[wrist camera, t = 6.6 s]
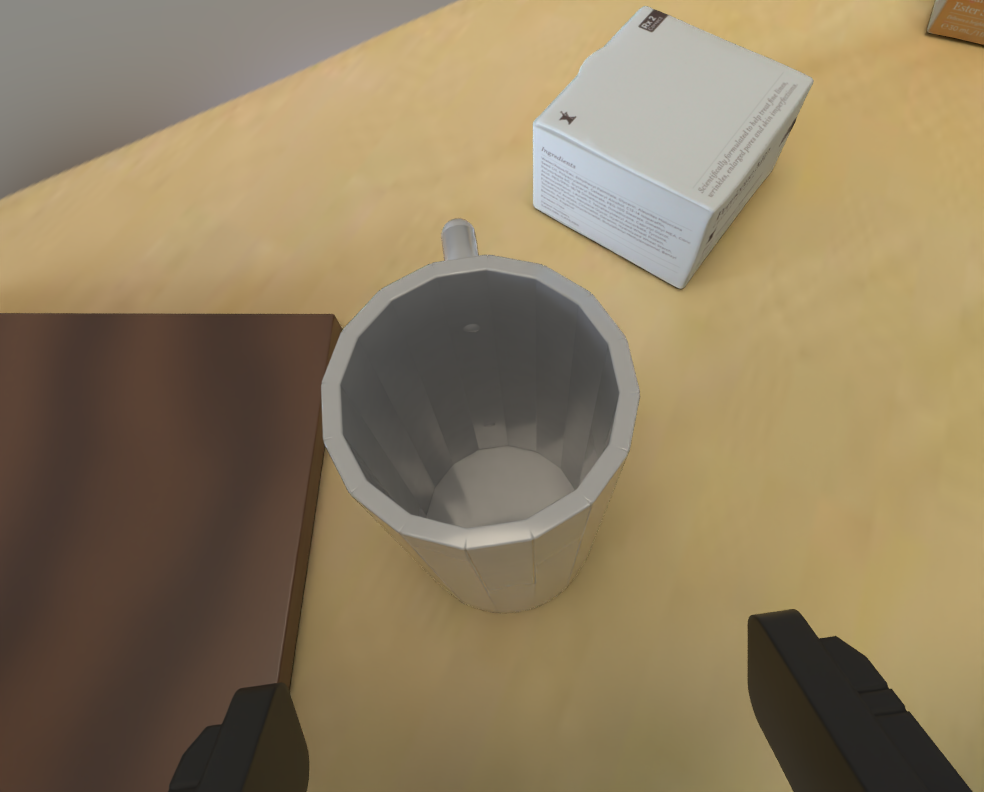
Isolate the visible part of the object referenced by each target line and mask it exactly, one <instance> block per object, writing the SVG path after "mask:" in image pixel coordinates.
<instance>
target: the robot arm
mask: <svg viewBox="0 0 984 792" xmlns="http://www.w3.org/2000/svg"><path fill="white" fill-rule="evenodd" d="M748 690H749V696H750V700H751V704H752V707H753V711H754V713H755V716H756V719H757V721H758V723H759V725H760V727H761V729H762V731H763V733H764V735H765V737H766V739H767V741H768V743H769V745H770V747H771V748H772V750H773V752H774V754H775V756H776V758H777V760H778V762H779V764H780V766H781V768H782V770H783V772H784V774H785V776H786V778H787V780H788V782H789V783H790V785H791V787H792V789H793V791H794V792H972V790H971V789H970V788H969V787H968V785H967V784H966V783H965V781H964V780H963V779H962V778H961V776H960V775H959V774H958V773H957V771H956V770H955V769H954V767H953V766H952V765H951V764H950V762H949V761H948V760H947V759H946V757H945V756H944V755H943V754H942V752H941V751H940V750H939V748H938V747H937V746H936V745H935V743H934V742H933V741H932V740H931V738H930V737H929V736H928V735H927V733H926V732H925V731H924V729H923V728H922V727H921V726H920V724H919V723H918V722H917V721H916V719H915V718H914V717H913V715H912V714H911V713H910V712H909V711H908V712H907V711H906V709H905V705H904V704H903V703H902V702H901V700H900V699H899V698H898V696H897V695H896V694H895V693H894V691H893V690H892V689H889V688H888V685H887V682H886V681H885V680H884V679H883V677H882V676H881V675H880V674H879V672H878V671H877V670H876V669H875V667H874V666H873V665H872V663H871V662H870V661H869V660H868V658H867V657H866V656H864V655H863V654H861V653H860V652H858V651H857V650H856V649H854V648H853V647H851V646H850V645H848V644H847V643H845V642H844V641H842V640H841V639H840V638H838V637H837V636H834V637H827V638H820V639H819V638H818V637H817V635H816V634H815V633H814V631H813V630H812V628H811V627H810V626H809V624H808V623H807V621H806V620H805V619H804V617H803V616H802V615H801V614H800V613H799V612H798V611H797V610H795V609H790V610H784V611H777V612H770V613H763V614H756V615H751V616H750V617H749V619H748ZM308 780H309V755H308V749H307V744H306V741H305V738H304V735H303V732H302V729H301V726H300V723H299V720H298V717H297V714H296V711H295V708H294V705H293V702H292V698H291V695H290V692H289V690H288V687H287V686H286V684H285V683H283V682H280V683H273V684H266V685H259V686H253V687H246V688H240V689H238V690H237V691H236V692H235V694H234V696H233V698H232V700H231V703H230V705H229V708H228V710H227V713H226V715H225V718H224V720H223V723H222V724H218V725H212V726H206V728H205V729H204V730H203V731H202V732H201V734H200V735H199V736H198V737H197V738H196V739H195V741H194V742H193V743H192V744H191V745H190V747H189V748H188V749H187V750H186V751H185V752H184V754H183V755H182V757H181V759H180V762H179V764H178V766H177V768H176V771H175V773H174V775H173V777H172V780H171V782H170V784H169V791H168V792H306V791H307V786H308Z"/></svg>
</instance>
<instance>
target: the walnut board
mask: <svg viewBox="0 0 984 792" xmlns="http://www.w3.org/2000/svg"><path fill="white" fill-rule="evenodd" d="M341 330H342V328H341V326H340V324H339V322H338V321H337V319H336V317H335V315H334V314H76V313H0V792H168V791H169V784H170V782H171V780H172V777H173V775H174V773H175V771H176V768H177V766H178V764H179V762H180V759H181V757H182V755H183V754H184V752H185V751H186V750H187V749H188V748H189V747H190V745H191V744H192V743H193V742H194V741H195V739H196V738H197V737H198V736H199V735H200V734H201V732H202V731H203V730H204V729H205V728H206V726H212V725H218V724H222V723H223V720H224V718H225V715H226V713H227V710H228V708H229V705H230V703H231V700H232V698H233V696H234V694H235V692H236V691H237V690H238V689H240V688H246V687H253V686H259V685H266V684H273V683H280V682H283V683H285V684H286V686H287V687H288V690H289V687H290V681H291V674H292V667H293V660H294V653H295V646H296V639H297V633H298V626H299V619H300V612H301V605H302V598H303V591H304V584H305V578H306V571H307V564H308V557H309V550H310V543H311V536H312V530H313V523H314V516H315V509H316V502H317V495H318V488H319V481H320V475H321V468H322V461H323V454H324V447H325V445H324V440H323V431H322V403H321V384H322V380H323V377H324V375H325V372H326V369H327V367H328V364H329V362H330V359H331V357H332V354H333V352H334V349H335V347H336V344H337V341H338V339H339V336H340V334H341Z"/></svg>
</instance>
